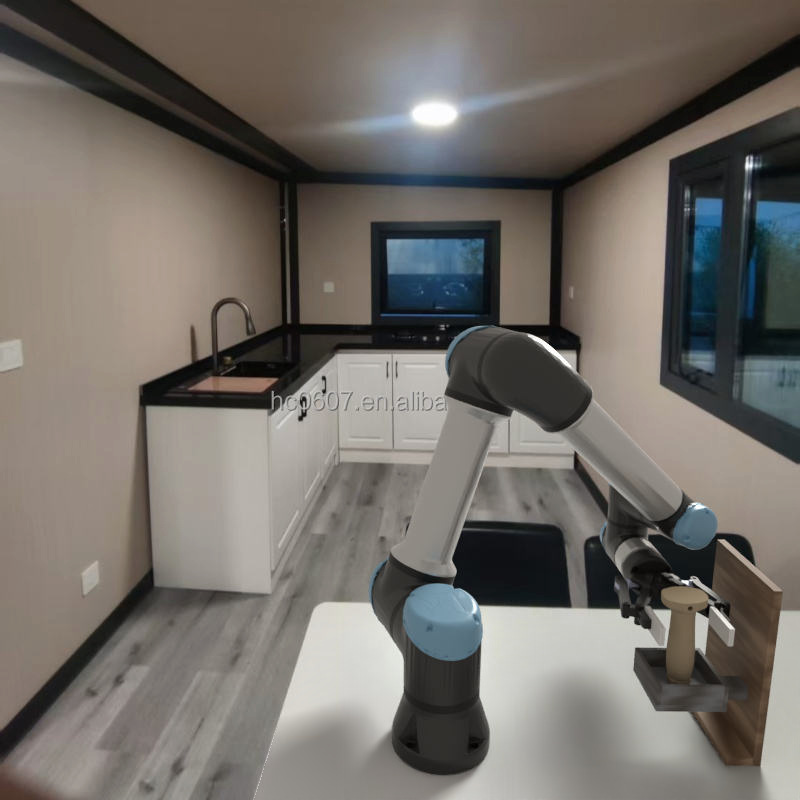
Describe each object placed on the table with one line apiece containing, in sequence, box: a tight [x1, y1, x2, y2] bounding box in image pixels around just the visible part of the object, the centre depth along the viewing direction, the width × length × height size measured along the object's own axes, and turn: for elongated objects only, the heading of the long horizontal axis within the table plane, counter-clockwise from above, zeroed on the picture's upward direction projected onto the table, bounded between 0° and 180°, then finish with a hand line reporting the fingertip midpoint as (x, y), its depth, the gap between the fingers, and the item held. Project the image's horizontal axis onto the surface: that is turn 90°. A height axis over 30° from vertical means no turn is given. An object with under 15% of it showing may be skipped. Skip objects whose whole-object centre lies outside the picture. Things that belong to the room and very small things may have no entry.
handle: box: [660, 586, 708, 685], centre depth 103 cm, size 5×6×15 cm
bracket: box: [632, 539, 784, 767], centre depth 108 cm, size 16×18×28 cm
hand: (696, 637), depth 98 cm, fingers open, 9 cm apart
